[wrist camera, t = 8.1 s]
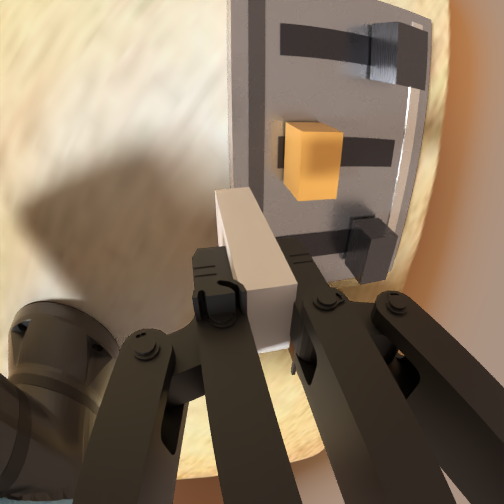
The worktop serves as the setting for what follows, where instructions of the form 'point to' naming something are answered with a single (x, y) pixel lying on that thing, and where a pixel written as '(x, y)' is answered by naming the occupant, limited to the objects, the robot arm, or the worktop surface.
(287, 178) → the tall orange block
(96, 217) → the worktop surface
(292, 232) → the panel
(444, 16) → the worktop surface
